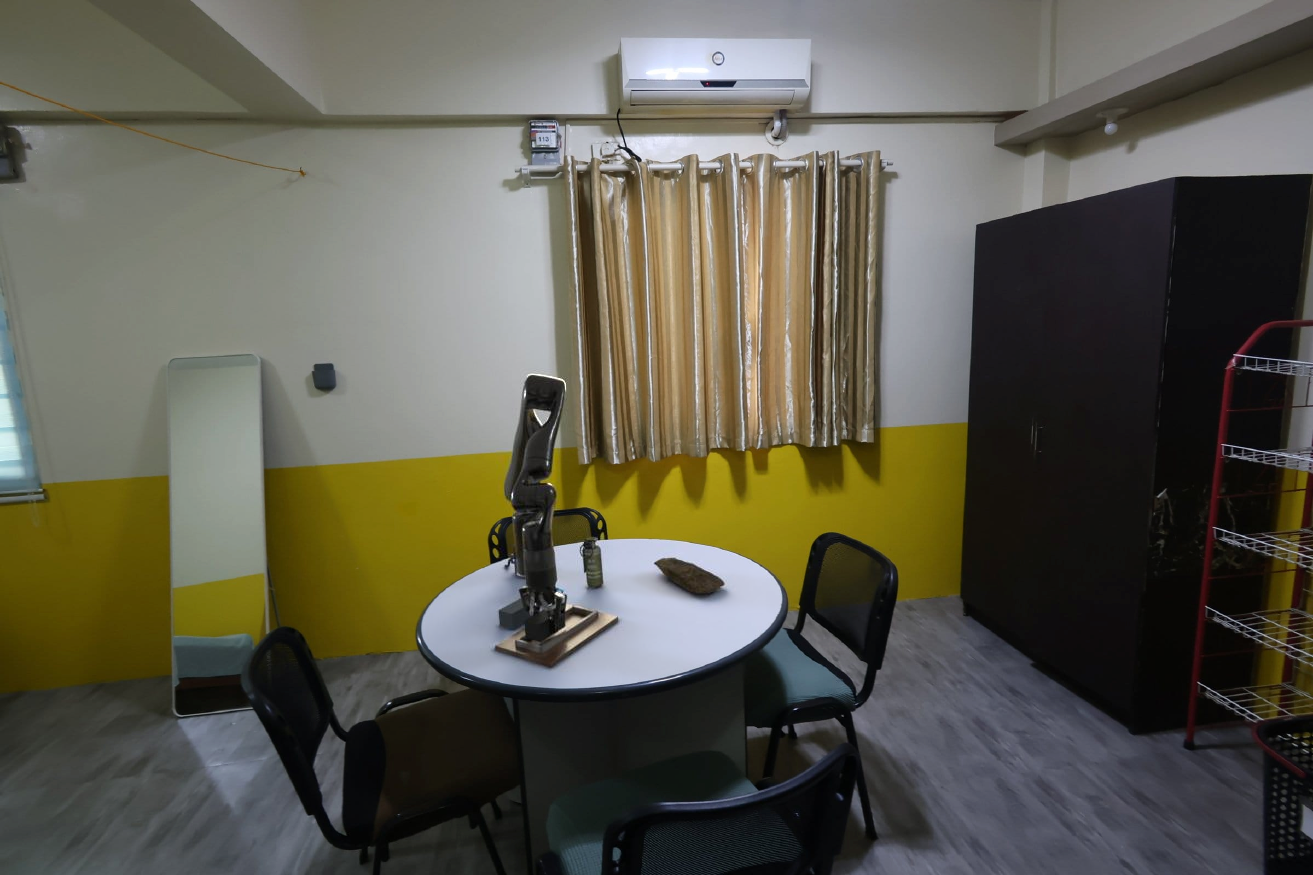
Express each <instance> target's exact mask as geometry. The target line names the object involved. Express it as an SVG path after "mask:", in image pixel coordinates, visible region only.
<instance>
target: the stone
mask: <svg viewBox="0 0 1313 875" xmlns="http://www.w3.org/2000/svg"><path fill="white" fill-rule="evenodd" d="M653 565H655V566H656V567H657V568H658V569H659V570H660V571H661V573H662V574H663V575H664V576H665V577H667V578H668V580H670V581H672V582H674V583H675V584H677V585H679V586H680V587H682V589H684V590H686V591H689V592H691V593H692V594H710V593H713V592H715V591H718V590H720V589H721V587H723V586H725V585H726V584H725V582H724V580H722V578H720V577H719V576H717V575H716V574H714V573H712V572H711V571H708V570H706V569H703V568H702V567H700V566H697V565H696V564H695V563H692V562H688V561H684V560H682V559H678V558H676V557H662V558H660V559H657V560H655V561H654V562H653Z"/></svg>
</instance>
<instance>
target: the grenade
mask: <svg viewBox="0 0 1313 875" xmlns="http://www.w3.org/2000/svg"><path fill="white" fill-rule="evenodd" d="M598 540H599V539H598V537H596V536H591V537H590V536H588V537H587V538H584V540H583V543H582V545H581V546H580V547H579V554H580V556H581V557H582V562H583V563H582V564H583V574H585V578H586V584H587V586H588V588H591V589H596V588H601V587H602V586H603V584H604V574H603V572H604V571H603V561H602V550H601V547H600V545H597V544H596V543H597V541H598Z"/></svg>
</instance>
